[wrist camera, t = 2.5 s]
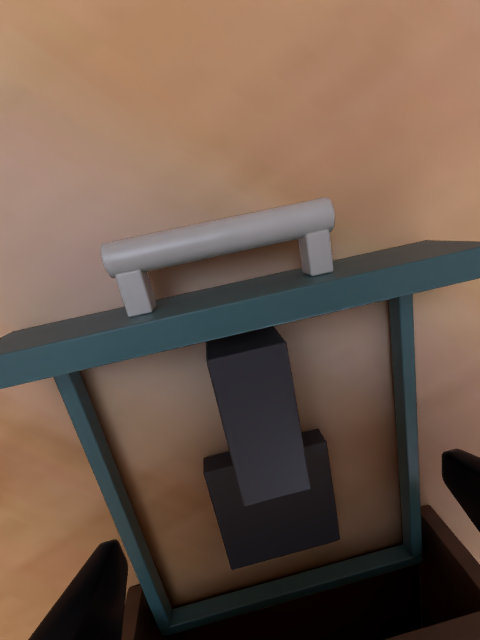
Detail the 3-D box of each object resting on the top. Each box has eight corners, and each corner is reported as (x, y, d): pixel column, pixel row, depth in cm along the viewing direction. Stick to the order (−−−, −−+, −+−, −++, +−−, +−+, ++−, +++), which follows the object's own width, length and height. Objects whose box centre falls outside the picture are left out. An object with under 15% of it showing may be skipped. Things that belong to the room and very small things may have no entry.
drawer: (-16, 269, 11) (-105, 284, 8) (424, 178, 12) (506, 157, 9) (141, 625, 16) (127, 718, 13) (433, 543, 17) (485, 611, 14)
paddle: (300, 308, 13) (331, 331, 10) (332, 522, 16) (362, 589, 13) (168, 338, 13) (158, 371, 9) (229, 550, 16) (236, 626, 13)
